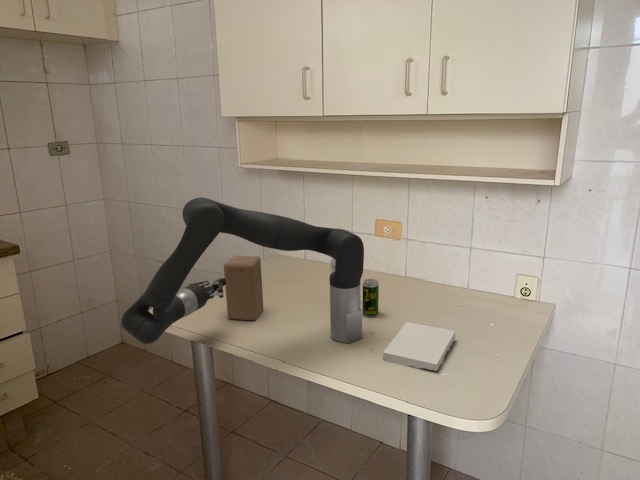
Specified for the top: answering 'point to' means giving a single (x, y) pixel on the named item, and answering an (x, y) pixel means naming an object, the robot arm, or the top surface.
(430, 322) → the top surface
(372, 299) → the beer can
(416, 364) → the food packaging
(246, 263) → the wooden block
